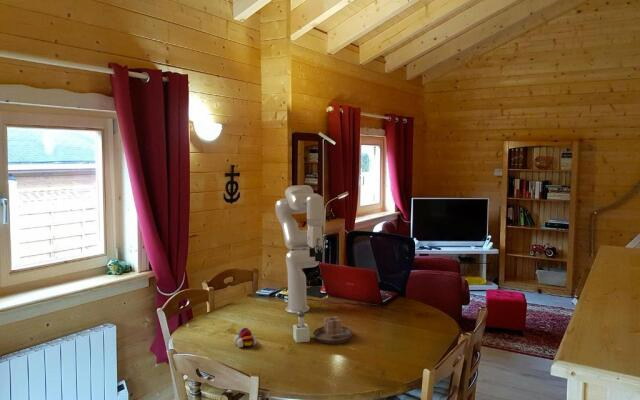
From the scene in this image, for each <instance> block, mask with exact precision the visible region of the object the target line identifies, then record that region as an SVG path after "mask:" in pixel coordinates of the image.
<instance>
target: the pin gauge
mask: <svg viewBox="0 0 640 400" xmlns="http://www.w3.org/2000/svg"><path fill="white" fill-rule="evenodd" d="M297 317H298V318H297V320H298V327H299V328H304V324H305V319H304V318H305V312H303V311H299V312H298V313H297Z"/></svg>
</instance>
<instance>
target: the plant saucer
mask: <svg viewBox="0 0 640 400" xmlns="http://www.w3.org/2000/svg"><path fill="white" fill-rule="evenodd" d="M353 333H354V332H353V330H352V329H351V328H349V327H347V326H343V325H341V334H334V335H328V334H327V333H326V332H325V331H324V326H320V327H318V328H315V329H314V330H313V332H312V334H313V337H314V338H315V339H316V340H317V341H319V343H323V344H329V345H334V344H335V345H336V344H342V343H345V342H347V341H349V339H351V337H352V335H353Z"/></svg>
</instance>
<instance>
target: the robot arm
mask: <svg viewBox="0 0 640 400" xmlns="http://www.w3.org/2000/svg"><path fill="white" fill-rule="evenodd" d="M284 195H285V198H281V199H278V200H277V201H276V202H275V204H274V205H275V215H276V217H277V219H278V222H279V224H280V225H281V228H282V232H283V233H282V234H283V239H284V244H285V247H286V248H287V249H288V250H289V251H288V252H287V253H286V255H285V263H286V270H287V305H286V306H285V309H284V310H285V311H286V312H287V313H288V314H289V313H290V314H298V312H299V311H303V312H304V313H307V312H309V311H310V309H311V308H310V306H309V305H308V303H307V277H306V274H305V272H304V271H303V270H302V269H307V268H316V267H317V266H318V265H319V264H320V262H323V248H322V247H323V229H322V227H324V198H323V196H322V195H320V194H318V193H314V190H313V187H312V186H310V185H308V184H307V185H306V184H304V185H290V186H289V187H287V188H286V190H285V192H284ZM305 213H306V226H307V229H305V230H300V229H299V224H298V221H297V220H296V219H295V218H294V217H292V216H291V215H296V214H297V215H298V214H299V215H300V214H305Z"/></svg>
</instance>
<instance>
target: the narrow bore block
mask: <svg viewBox="0 0 640 400" xmlns="http://www.w3.org/2000/svg"><path fill="white" fill-rule="evenodd" d="M323 319H324V320H323V322H324V323H323V325H324V331H325V332H326V333H327V334H328V335H334V334H341V326H342V319H341V318H339V317H338V316H335V315H334V316H327V317H324V318H323Z"/></svg>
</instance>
